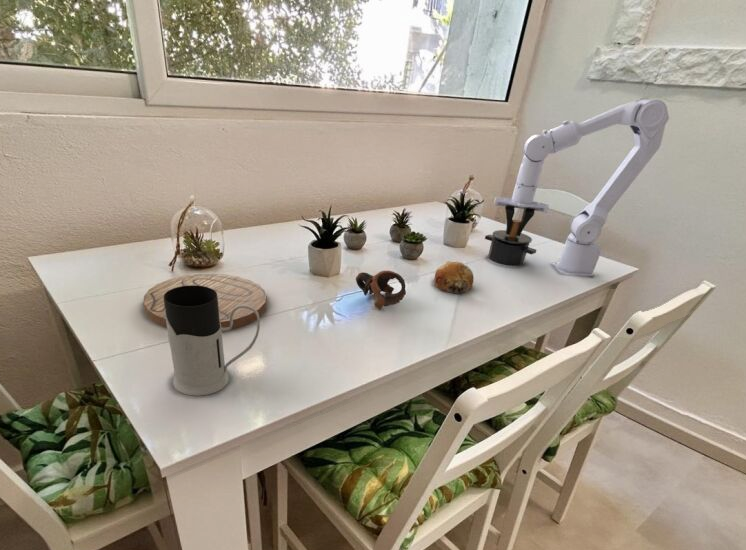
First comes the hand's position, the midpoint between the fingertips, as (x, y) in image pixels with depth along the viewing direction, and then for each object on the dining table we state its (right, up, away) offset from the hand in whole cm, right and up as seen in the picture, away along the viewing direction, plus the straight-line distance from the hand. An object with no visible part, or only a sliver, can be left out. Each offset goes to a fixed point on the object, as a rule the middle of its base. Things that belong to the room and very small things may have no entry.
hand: (512, 234), depth 134 cm
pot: (-1, -7, +5) cm, 8 cm away
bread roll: (-21, -19, -15) cm, 32 cm away
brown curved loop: (-40, -24, -26) cm, 54 cm away
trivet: (-78, -27, -35) cm, 89 cm away
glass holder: (-69, -43, -58) cm, 100 cm away
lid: (0, -1, +1) cm, 1 cm away
